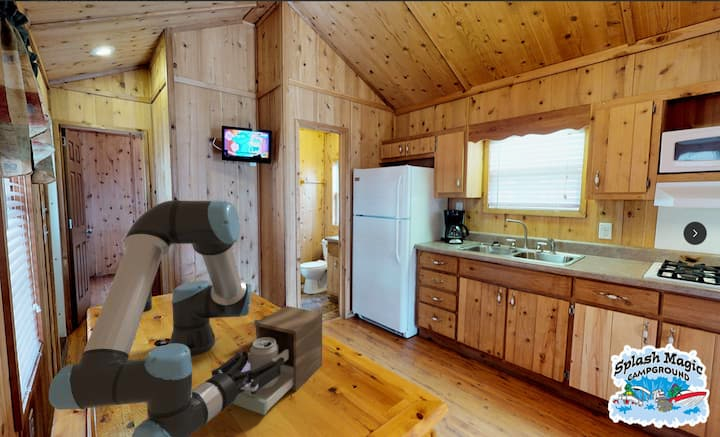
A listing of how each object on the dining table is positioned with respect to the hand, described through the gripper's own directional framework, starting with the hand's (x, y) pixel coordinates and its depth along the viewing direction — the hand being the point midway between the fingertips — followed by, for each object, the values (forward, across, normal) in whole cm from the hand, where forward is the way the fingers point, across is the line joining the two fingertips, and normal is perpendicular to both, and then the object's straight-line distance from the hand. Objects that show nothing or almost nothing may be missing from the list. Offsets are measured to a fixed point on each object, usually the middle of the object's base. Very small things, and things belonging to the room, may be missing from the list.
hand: (275, 350), depth 92 cm
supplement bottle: (+22, -92, -11) cm, 95 cm away
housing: (+8, 0, -11) cm, 13 cm away
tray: (-4, 0, -9) cm, 10 cm away
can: (-5, 0, -7) cm, 9 cm away
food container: (+22, -18, -11) cm, 30 cm away
